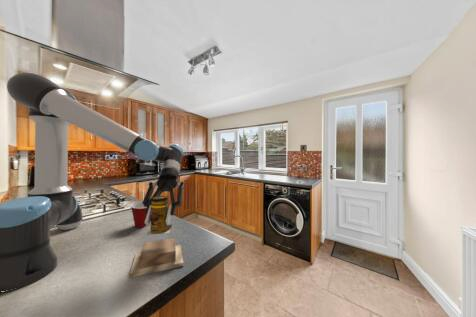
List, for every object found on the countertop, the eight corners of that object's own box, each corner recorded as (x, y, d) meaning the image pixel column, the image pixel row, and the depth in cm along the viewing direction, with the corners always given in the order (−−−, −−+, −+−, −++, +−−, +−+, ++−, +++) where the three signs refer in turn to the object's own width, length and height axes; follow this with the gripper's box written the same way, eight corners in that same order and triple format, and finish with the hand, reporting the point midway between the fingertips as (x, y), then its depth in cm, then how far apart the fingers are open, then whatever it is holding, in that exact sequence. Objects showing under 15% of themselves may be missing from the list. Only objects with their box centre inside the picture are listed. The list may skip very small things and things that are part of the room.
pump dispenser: (55, 227, 88) (56, 198, 88) (82, 222, 95) (83, 195, 95) (52, 234, 80) (52, 202, 80) (81, 229, 87) (82, 199, 87)
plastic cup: (136, 231, 85) (136, 207, 85) (125, 226, 91) (126, 204, 91) (156, 224, 94) (157, 203, 94) (145, 220, 100) (146, 200, 100)
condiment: (146, 235, 57) (146, 199, 57) (153, 225, 66) (153, 194, 65) (169, 233, 59) (169, 199, 59) (173, 224, 67) (173, 193, 67)
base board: (129, 277, 53) (129, 261, 53) (136, 255, 65) (136, 242, 65) (183, 265, 59) (183, 251, 59) (180, 247, 71) (180, 235, 71)
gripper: (193, 177, 78) (186, 227, 62) (149, 177, 76) (131, 229, 60) (191, 166, 73) (184, 218, 57) (144, 166, 71) (123, 220, 54)
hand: (157, 223), depth 58 cm, fingers closed on condiment, 6 cm apart
